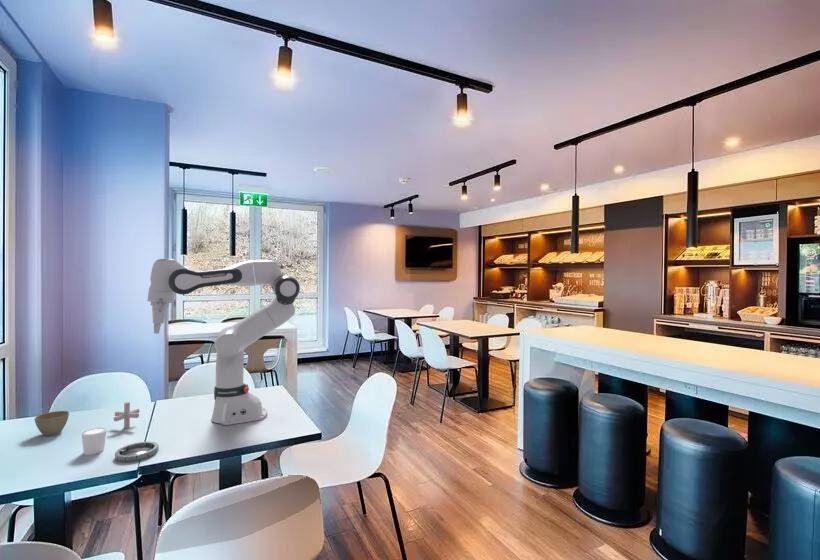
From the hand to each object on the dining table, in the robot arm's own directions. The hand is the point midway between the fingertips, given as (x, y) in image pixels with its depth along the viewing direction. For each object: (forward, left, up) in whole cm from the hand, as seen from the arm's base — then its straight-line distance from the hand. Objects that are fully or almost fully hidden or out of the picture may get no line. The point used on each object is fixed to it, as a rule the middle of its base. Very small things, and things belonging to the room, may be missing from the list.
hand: (156, 331), depth 162 cm
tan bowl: (+36, -3, -39) cm, 53 cm away
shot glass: (+14, +20, -39) cm, 46 cm away
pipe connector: (+11, -2, -39) cm, 40 cm away
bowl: (-1, +27, -39) cm, 47 cm away
